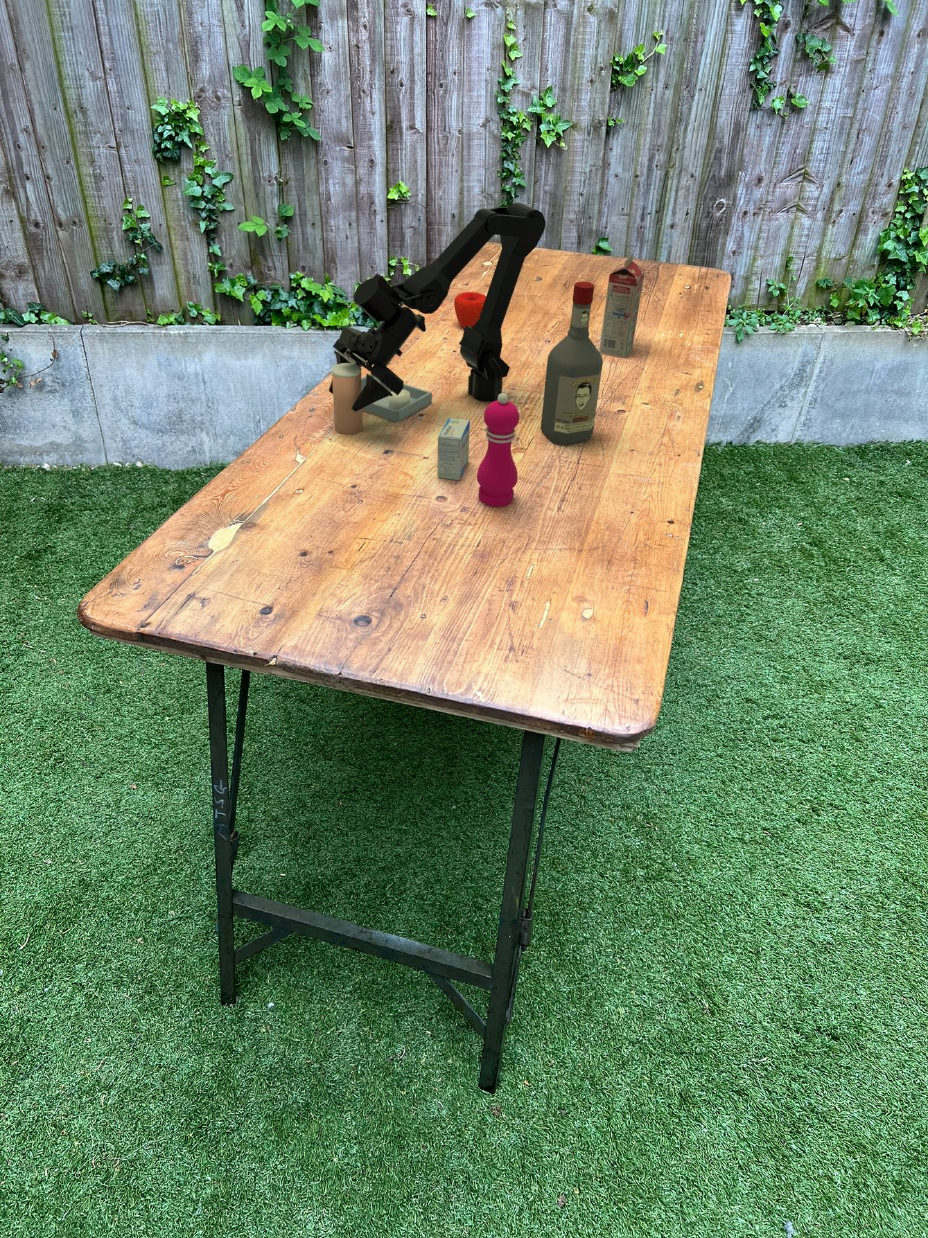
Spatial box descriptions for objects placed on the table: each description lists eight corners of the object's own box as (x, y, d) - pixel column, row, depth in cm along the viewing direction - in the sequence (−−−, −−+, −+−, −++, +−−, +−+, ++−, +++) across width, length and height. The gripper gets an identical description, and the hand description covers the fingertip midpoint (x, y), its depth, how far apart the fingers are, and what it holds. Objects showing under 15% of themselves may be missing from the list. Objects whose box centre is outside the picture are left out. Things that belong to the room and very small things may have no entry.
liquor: (535, 428, 187) (550, 279, 168) (575, 422, 190) (593, 274, 171) (556, 448, 180) (574, 295, 162) (596, 441, 183) (618, 290, 165)
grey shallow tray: (431, 405, 193) (431, 392, 191) (397, 426, 185) (397, 412, 183) (371, 386, 200) (371, 372, 198) (336, 404, 192) (335, 391, 190)
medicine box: (460, 481, 168) (462, 438, 163) (436, 478, 169) (437, 435, 164) (468, 461, 175) (470, 419, 169) (445, 458, 175) (447, 416, 170)
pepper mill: (473, 488, 167) (479, 384, 154) (513, 488, 167) (522, 384, 155) (477, 509, 161) (483, 402, 149) (518, 508, 162) (527, 402, 149)
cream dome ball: (414, 406, 191) (414, 392, 189) (401, 413, 188) (401, 399, 186) (397, 400, 193) (397, 387, 191) (384, 407, 190) (384, 394, 188)
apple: (495, 325, 232) (497, 294, 227) (476, 335, 226) (478, 303, 221) (465, 317, 235) (466, 286, 231) (446, 327, 229) (447, 295, 225)
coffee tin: (368, 430, 183) (367, 368, 175) (350, 441, 179) (348, 377, 171) (347, 423, 185) (344, 360, 177) (328, 432, 181) (325, 369, 173)
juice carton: (598, 353, 220) (611, 258, 207) (606, 343, 225) (619, 251, 211) (625, 358, 218) (640, 263, 205) (632, 348, 223) (647, 255, 210)
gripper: (339, 295, 176) (291, 361, 177) (389, 327, 164) (337, 397, 165) (376, 329, 184) (329, 391, 186) (426, 361, 172) (375, 428, 174)
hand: (341, 401), depth 177 cm, fingers open, 9 cm apart
